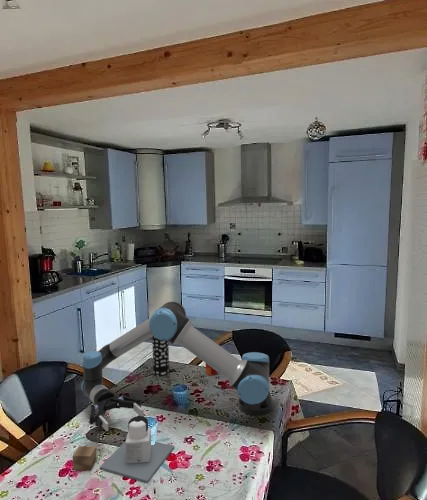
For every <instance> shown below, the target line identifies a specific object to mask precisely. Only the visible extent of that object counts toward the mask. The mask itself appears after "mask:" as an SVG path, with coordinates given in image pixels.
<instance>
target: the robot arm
mask: <svg viewBox="0 0 427 500" xmlns="http://www.w3.org/2000/svg"><path fill="white" fill-rule="evenodd" d="M152 336H154V337H156V338H157V339H159V340H168V343H171V344H172V345H180V346H181V347H183V348H184V349H185V350H187V351H189V352H190V353H191V354H193V355H194V356H195V357H197V358H198V359H199V360H201V361H203V362H204V363H206V364H208V365H209V366H210V367H212V368H213V369H215V370H216V371H217V373H219V375H221V376H223V377H224V378H226V379H227V380H228V383H229V386H230V387H231V388H233V389H234V390H235V391H237V395H238V399H237V406H238V408H239V410H240V411H242V412H243V413H245V414H249V415H253V416H254V415H255V416H261V415H266V414H268V413H270V412H271V411H273V409H274V400H273V397H272V395H271V394H272V393H271V391H270V357H269V355H268V354H265V353H262V352H257V351H254V352H253V351H251V352H247V353H244V354H242V357H241V360H240V359H238V358H237V357H235V356H234V355H233V354H232V353H230V352H229V351H227V350H226V349H225V348H224V347H222V346H221V345H219V344H218V343H217V342H215V341H213V340H212V339H211V338H209V337H208V336H206V335H205V334H204V333H203V332H201V331H200V330H198V329H197V328H195V327H194V326H193V325H192V322H191V319H189V318H188V317H187V312H186V309H185V308H184V306H183V305H182V304H181V303H179V302H177V301H168V302H166V303H164V304H163V305H162V306H160V307H159V308H158V309H156V310H155V311H154V312H153V314H152V315H151V316H150V317H149V318H148V319H146V320H145V321H143V322H141V323H140V324H139V325H137V326H135V327H133V328H132V329H130V330H129V331H127V332H125V333H123V334H122V335H121V336H119V337H117V338H115V339H114V340H113V341H111V342H110V343H108V344H105V345H104V346H102V347H101V348H100V349H99V350H90V351H88V352H85V353H84V354H83V356H82V357H83V358H82V370H83V380H82V382H81V385H80V387H81V388H80V389H81V391H82V393H83V394H84V396H85V397H87V398H88V399H89V400H90V401H91V403H92V404H90V414H89V425H95V426H99V427H102V428H103V430H105V432H109V422H108V421H107V420H106V418H104V417H103V416H104V415H106V412H107V411H111V410H114V409H121V408H122V409H124V408H125V409H132V410H133V411H134V412H135V413H136V414H137V415H138V416H143V417H144V409H143V408H142V401H141V399H140V398H137V397H131V396H129V395H125V394H120V397H117V396H115V394H114V393H113V392H112V391H111V390H110V389H109V388H108V387H106V386H105V385H104V383H103V382H104V381H103V370H104V369H105V368H106V367H107V366H108V365H109V364H110V363H111V362H113V361H115V360H117V359H118V358H120V357H121V356H122V355H125V354H126V353H128V352H130V351H131V350H133V349H134V348H136V347H137V346H139V345H141V344H143V343H144V342H147V341H148V340H150V339H152ZM206 364H205V365H206ZM97 410H98V411H97ZM96 412H97V413H96Z"/></svg>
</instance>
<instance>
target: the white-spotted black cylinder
mask: <svg viewBox="0 0 427 500" xmlns="http://www.w3.org/2000/svg"><path fill="white" fill-rule="evenodd" d="M151 339H152V342H151V343H152V369H153V370H152V374H153V376H155V377H161V378H162V377H166V376H168V375H169V374H170V357H169V356H170V354H169V351H170V350H169V349H170V348H169V347H170V346H169V341H168V340H159V339H157V338H156V337H154V336H152V337H151Z"/></svg>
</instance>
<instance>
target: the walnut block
mask: <svg viewBox="0 0 427 500" xmlns="http://www.w3.org/2000/svg"><path fill="white" fill-rule="evenodd" d="M97 455H98V454H97V446H88V445H87V446H85V445H82V446H81V445H80V446H78V447H77V448H76V450H75V452H74V453H73V455H72V470H73V471H92V469H93V468H94V466H95V464H96V462H97V461H98V457H97Z"/></svg>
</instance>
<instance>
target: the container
mask: <svg viewBox="0 0 427 500" xmlns="http://www.w3.org/2000/svg"><path fill="white" fill-rule="evenodd" d="M127 422H128V425H127V426H128V432H127V434H126V438H125V439H126V440H125V441H126V463H127V464H129V463H142V462H149V461H150V455H151V441H152V428H151V427H149V421H148V418H147V417H145V416H144V415H143V416H140V415H138V416H134V417H131V418H130V419H129V420H128V421H127Z"/></svg>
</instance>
